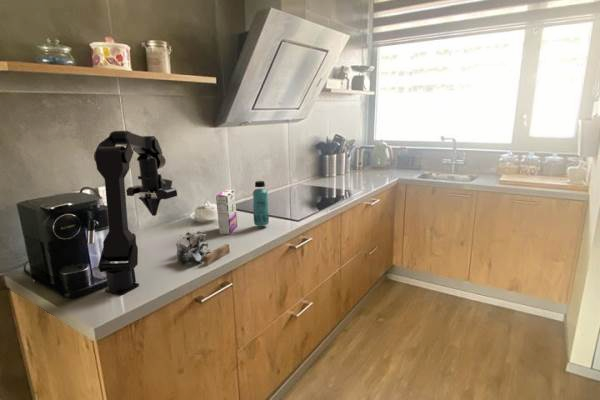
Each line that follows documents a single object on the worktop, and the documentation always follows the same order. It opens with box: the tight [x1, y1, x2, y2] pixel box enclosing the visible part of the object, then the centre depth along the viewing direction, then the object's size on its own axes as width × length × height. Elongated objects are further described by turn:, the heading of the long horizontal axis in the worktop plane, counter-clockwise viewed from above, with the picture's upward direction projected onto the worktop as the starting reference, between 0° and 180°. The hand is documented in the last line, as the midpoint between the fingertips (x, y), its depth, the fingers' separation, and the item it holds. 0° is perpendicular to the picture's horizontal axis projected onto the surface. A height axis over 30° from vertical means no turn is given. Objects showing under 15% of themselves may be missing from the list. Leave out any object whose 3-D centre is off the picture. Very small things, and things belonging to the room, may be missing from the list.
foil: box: [175, 231, 211, 265], centre depth 123 cm, size 12×11×15 cm
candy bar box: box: [215, 189, 238, 235], centre depth 150 cm, size 11×5×16 cm, turn 174°
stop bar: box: [203, 243, 230, 266], centre depth 121 cm, size 12×2×3 cm, turn 155°
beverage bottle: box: [252, 180, 270, 227], centre depth 153 cm, size 6×7×20 cm
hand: (154, 215), depth 129 cm, fingers closed
